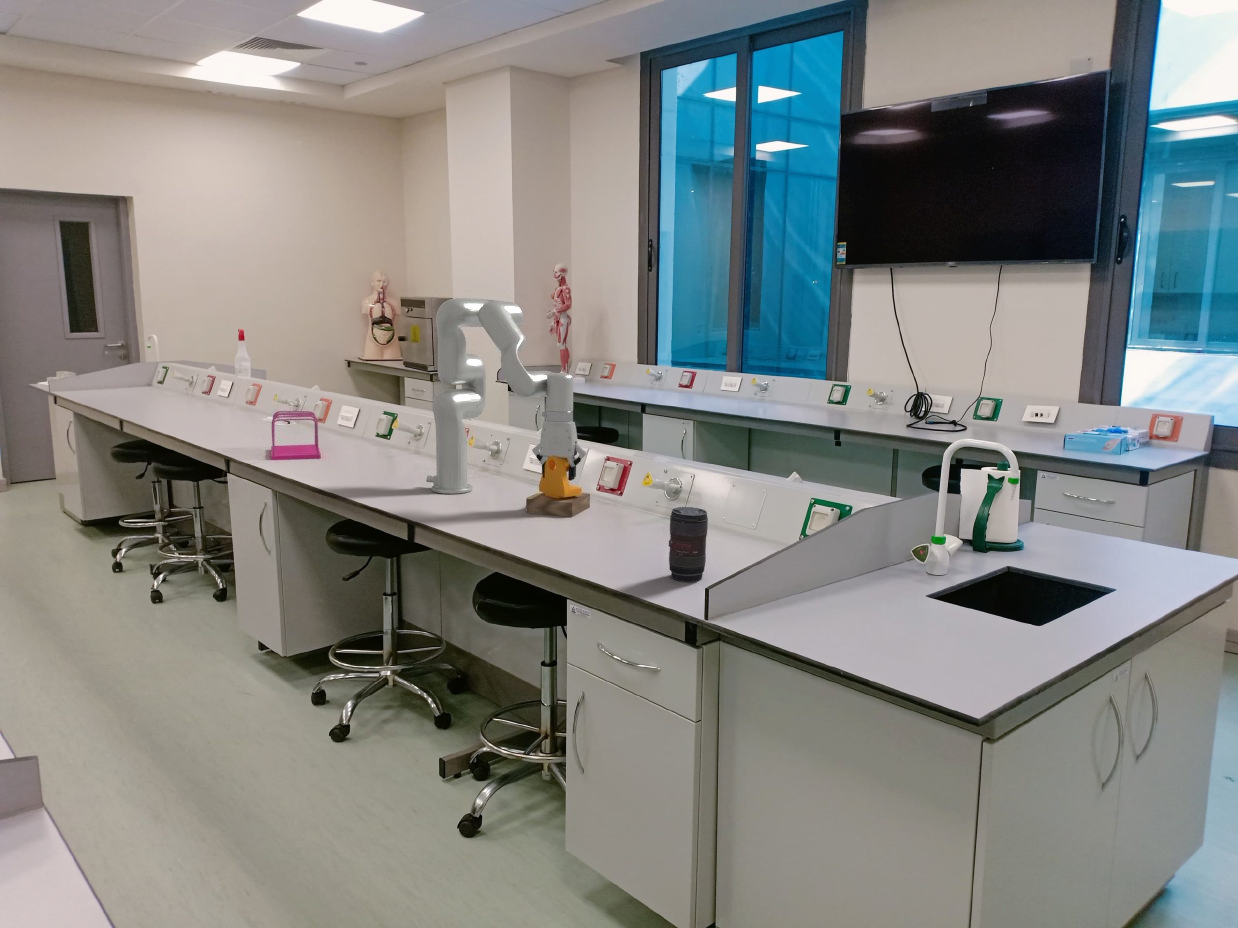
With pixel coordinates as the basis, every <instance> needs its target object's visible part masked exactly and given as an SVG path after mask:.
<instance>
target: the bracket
mask: <svg viewBox="0 0 1238 928" xmlns="http://www.w3.org/2000/svg"><path fill="white" fill-rule="evenodd" d="M569 467H570V463H569V461H568V459H567V458H559V457H556V456H553V455H552V456H551V457H548V458H547V460H546V463H545V478H543V474H542V473H541V477H540V481H539V484H538V492H544V493H545V496H549V497H553V498H557V499H560V498H566V497H571V496H577V495H581V494H582V493H583V491H582V489H583V488H582V487H580V486H576V485H573V484H570V482H569V480H568V474H567V473H568V472H569Z"/></svg>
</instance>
